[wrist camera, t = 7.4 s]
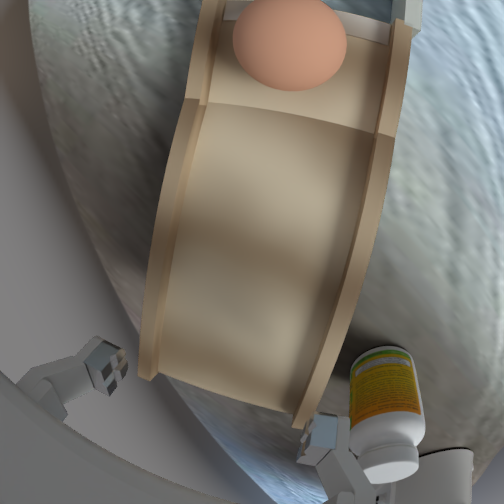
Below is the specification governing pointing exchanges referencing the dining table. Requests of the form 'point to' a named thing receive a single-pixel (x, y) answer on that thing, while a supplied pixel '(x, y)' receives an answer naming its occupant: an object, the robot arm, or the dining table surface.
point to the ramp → (269, 216)
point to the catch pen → (407, 13)
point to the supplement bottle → (385, 414)
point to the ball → (289, 43)
